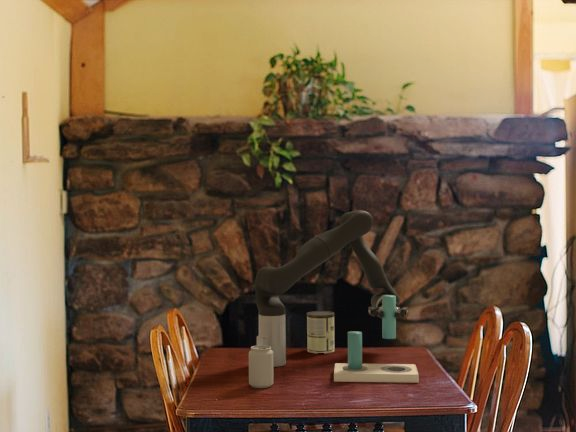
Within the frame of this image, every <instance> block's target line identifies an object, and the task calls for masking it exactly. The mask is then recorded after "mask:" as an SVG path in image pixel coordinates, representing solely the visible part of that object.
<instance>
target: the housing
mask: <svg viewBox="0 0 576 432" xmlns="http://www.w3.org/2000/svg"><path fill="white" fill-rule="evenodd" d="M333 370H334V372H333V382H343V383H345V382H346V383H347V382H352V383H354V382H355V383H357V382H358V383H417V384H418V383H419V381H420V380H419V379H420V377H419V372H418V368H417V366H416V364H413V363H411V364H409V363H362V369H358V370H352V369H348V362H347V363H346V362H345V363H344V362H343V363H337V362H336V363H334V369H333Z"/></svg>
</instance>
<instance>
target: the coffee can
mask: <svg viewBox="0 0 576 432" xmlns="http://www.w3.org/2000/svg"><path fill="white" fill-rule="evenodd" d="M306 333H307V334H306V335H307V336H306V338H307V346H306V347H307V350H306V351H307V353H311V354H318V353H324V354H331V353H334V352H335V312H334V311H328V310H315V311H308V312H306Z"/></svg>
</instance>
